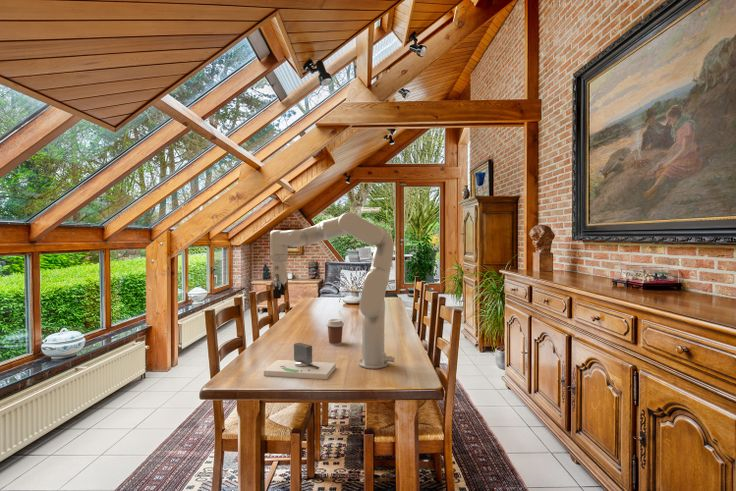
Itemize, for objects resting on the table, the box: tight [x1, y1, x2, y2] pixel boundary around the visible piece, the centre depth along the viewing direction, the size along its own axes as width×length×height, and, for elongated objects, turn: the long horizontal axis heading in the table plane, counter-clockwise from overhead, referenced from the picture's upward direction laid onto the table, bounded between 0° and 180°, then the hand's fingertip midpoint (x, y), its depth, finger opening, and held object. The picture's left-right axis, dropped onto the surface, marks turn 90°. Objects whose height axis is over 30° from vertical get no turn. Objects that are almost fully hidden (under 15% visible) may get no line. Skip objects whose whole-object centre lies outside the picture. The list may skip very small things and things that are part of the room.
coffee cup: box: [325, 318, 345, 346], centre depth 209 cm, size 9×9×12 cm
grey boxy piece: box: [293, 342, 319, 368], centre depth 167 cm, size 14×7×8 cm, turn 50°
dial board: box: [263, 359, 337, 380], centre depth 166 cm, size 26×14×2 cm, turn 80°
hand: (279, 296), depth 180 cm, fingers open, 9 cm apart
